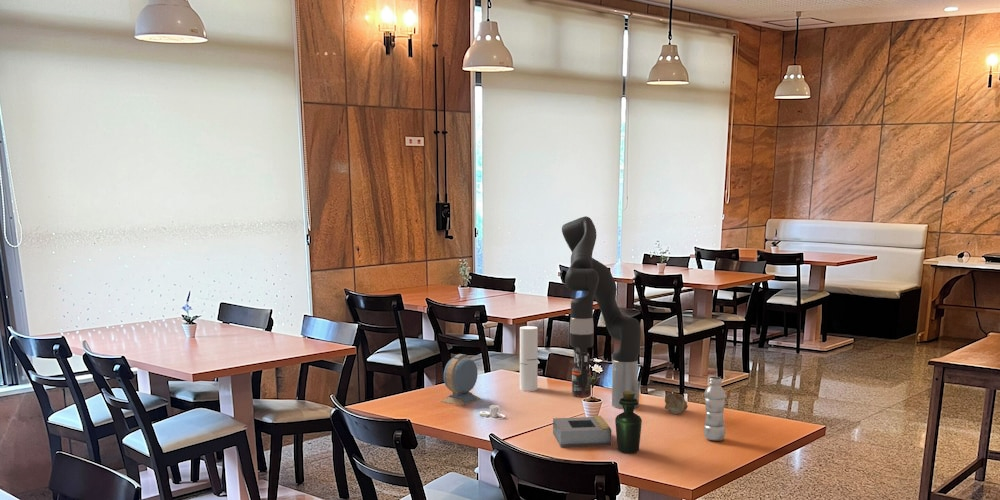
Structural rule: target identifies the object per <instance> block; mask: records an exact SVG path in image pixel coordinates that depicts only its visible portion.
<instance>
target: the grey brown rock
mask: <svg viewBox="0 0 1000 500" xmlns="http://www.w3.org/2000/svg"><path fill="white" fill-rule="evenodd" d="M664 402H665V404H664V409H666V410H668V412H670V414H673V415H679V414H681V413H683V412H685V411H686V410H687V409H688V407H689V406H688V402H687V401H686V399H685V397H683V396H682V395H681V394H680V393H674V392H673V393H670V394H667V395H666V396H665V397H664Z"/></svg>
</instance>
